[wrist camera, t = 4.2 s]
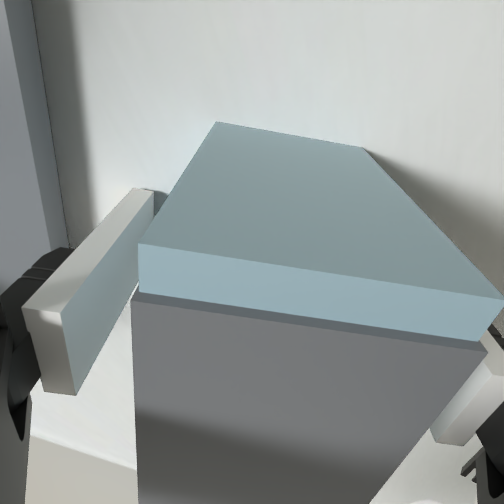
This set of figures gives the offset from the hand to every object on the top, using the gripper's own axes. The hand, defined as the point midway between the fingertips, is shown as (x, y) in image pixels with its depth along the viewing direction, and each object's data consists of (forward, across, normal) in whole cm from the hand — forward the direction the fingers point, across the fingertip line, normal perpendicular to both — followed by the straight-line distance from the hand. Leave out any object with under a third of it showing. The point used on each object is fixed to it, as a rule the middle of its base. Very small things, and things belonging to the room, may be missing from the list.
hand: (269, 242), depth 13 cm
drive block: (0, 0, 0) cm, 0 cm away
